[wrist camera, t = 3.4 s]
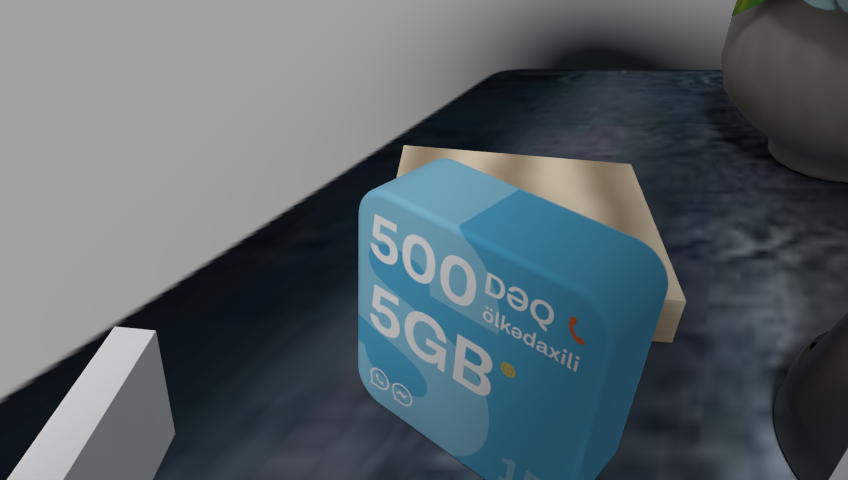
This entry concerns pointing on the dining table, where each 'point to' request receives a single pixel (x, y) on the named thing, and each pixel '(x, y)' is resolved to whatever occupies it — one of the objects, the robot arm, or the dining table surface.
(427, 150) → the birch board
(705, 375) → the dining table surface
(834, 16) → the flower arrangement
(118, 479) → the robot arm
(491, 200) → the data package
